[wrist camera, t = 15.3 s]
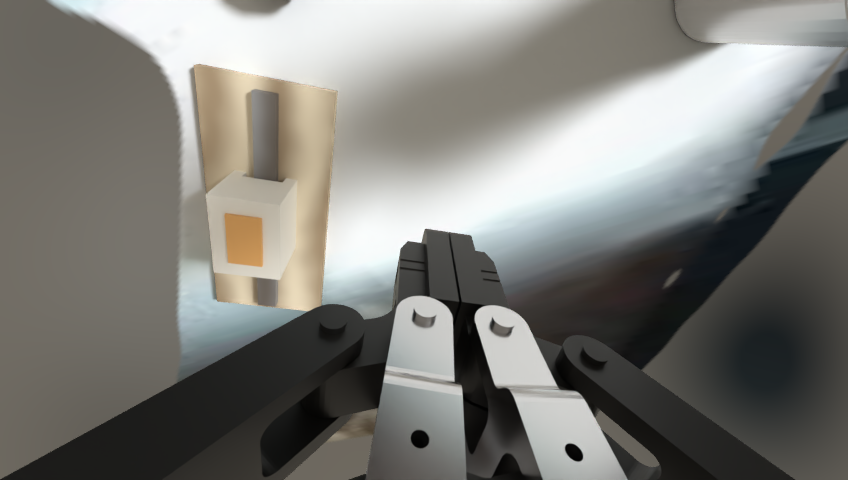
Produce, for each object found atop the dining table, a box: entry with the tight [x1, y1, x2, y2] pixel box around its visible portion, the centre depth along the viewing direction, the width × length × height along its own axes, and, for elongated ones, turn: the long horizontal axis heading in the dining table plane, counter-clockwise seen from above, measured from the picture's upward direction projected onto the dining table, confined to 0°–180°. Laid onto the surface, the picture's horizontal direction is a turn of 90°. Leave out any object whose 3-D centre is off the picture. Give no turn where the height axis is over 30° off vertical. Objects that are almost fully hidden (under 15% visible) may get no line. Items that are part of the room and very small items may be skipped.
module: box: [206, 170, 297, 280], centre depth 35 cm, size 6×8×6 cm
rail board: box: [194, 64, 338, 311], centre depth 38 cm, size 12×26×2 cm, turn 169°
